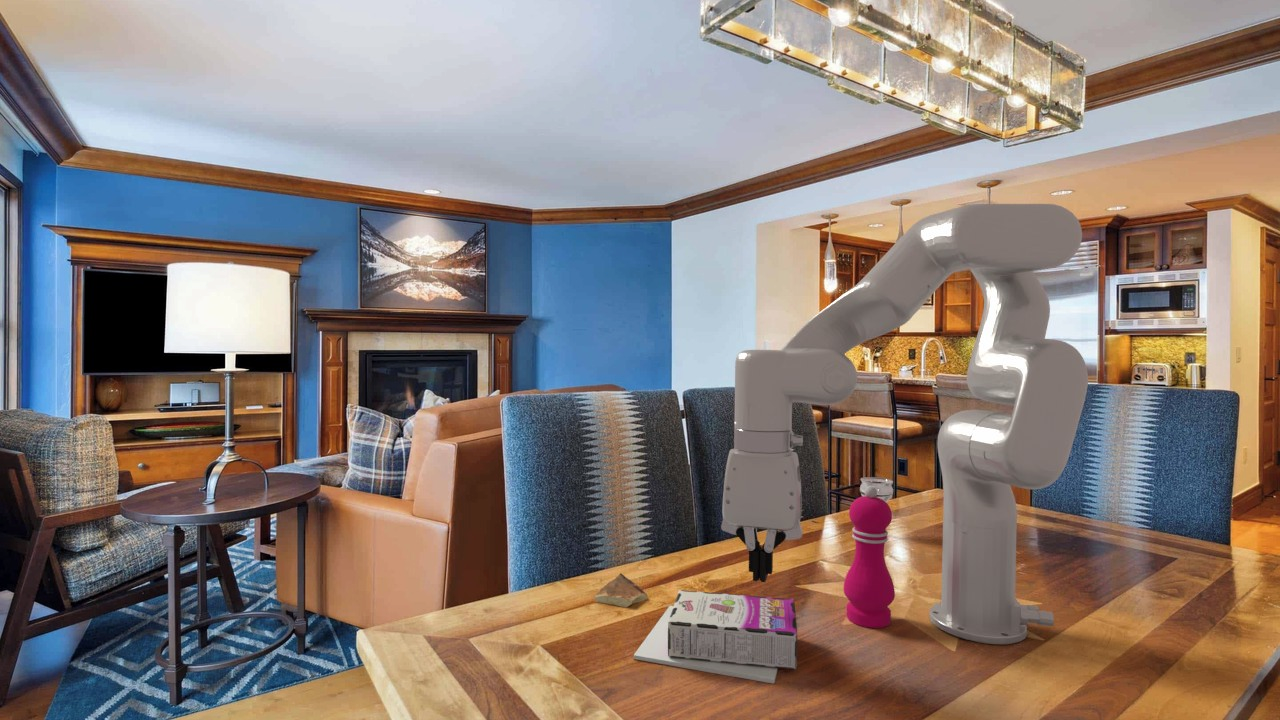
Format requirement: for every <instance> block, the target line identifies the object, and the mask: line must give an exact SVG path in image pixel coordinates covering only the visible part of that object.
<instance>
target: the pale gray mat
mask: <svg viewBox="0 0 1280 720" xmlns="http://www.w3.org/2000/svg"><path fill="white" fill-rule="evenodd" d="M673 607H674V605H669V606H668V607H667V609H666V610H665V611H664V613H663V614H662V616H661V617H660V618H659V619H658V621H657V622H656V624H655V625H654V627H653V628H652V629H651V631H650V632H649V633H648V635H647V636H646V638H645V639H644V640H643V641H642V643H641V645H640V646H639V647H638V649H637V650H636V651H635V652H634V654H633V660H638V661H643V662H649V663H654V664H660V665H665V666H671V667H677V668H682V669H683V668H684V669H687V670H688V669H689V670H693V671H695V670H696V671H700V672H706V673H710V674H716V675H717V674H718V675H723V676H728V677H733V678H735V677H736V678H738V679H739V678H740V679H746V680H752V681H757V682H763V683H768V684H769V683H770V684H775V682H776V678H777V674H778V669H779V668H777V667H767V666H758V665H749V664H737V663H729V662H717V661H707V660H696V659H687V658H677V657H668V621H669V618H670V615H671V612H672V610H673Z"/></svg>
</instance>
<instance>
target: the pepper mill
mask: <svg viewBox="0 0 1280 720" xmlns="http://www.w3.org/2000/svg"><path fill="white" fill-rule="evenodd" d="M864 492H865V495H866V496H859V497H857V498H855V500H853V502H852V503H851V504H850V506H849V511H848V517H849V519H850V522H851V523H852V525H854V527H852V528H851V530H852V535H851V536H852V538H853V539H854V542H855V543H854V544H855V553H854V558H853V561H852V563H851V565H850V568H849V570H848V571H847V573H846V574H845V578H844V581H843V594H844V595H845V597H846V598H847V600H848V601H849V602H848V603H847V604H846V617H847V619H848V620H849V621H850V622H851V623H852V624H855V625H858V626H861V627H864V628H871V629H873V628H874V629H881V628H886V627H888V626H889V625H891V623H892V622H891V620H892V618H891V617H892V610H891V609H890V608H889V606H890V605H891V604H892V603H893V601H894V600H895V595H896V594H895V593H896V592H895V585H894V581H893V579H892V576H891V574H890V572H889V569H888V567H887V564H886V561H885V543H886V542H888V540H889V537H888V538H887V536H888V534H889V532H888V530H886V528H888V526H890V525H891V523H892V519H893V513H892V509H891V506H890V505H889V503H888V502H885V501H884V500H882V499H880V498H877V497H876V495H877V490H876V489H875V488H874V487H872V486H869V487H867V488H866V489H865V491H864Z"/></svg>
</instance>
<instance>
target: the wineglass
mask: <svg viewBox="0 0 1280 720" xmlns="http://www.w3.org/2000/svg"><path fill="white" fill-rule="evenodd" d="M859 480H860V481H861V483H860V485H859V486H860V487H859V493H860V495H861V497H863V496H866V495H865V492H864V491H865V489H866V488H867V487H869V486H872V487H874V488H875V489H876V490H877V495H876V497H877V498H880V499H882V500H884V501H885V502H886V503H888V502H889V500H890V499H892V497H893V494H894V489H893V486H892V484H893V483H894V481H893V480H891V479H889V478H884V477H875V476H871V477H861V478H860V479H859Z"/></svg>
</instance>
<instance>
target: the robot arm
mask: <svg viewBox="0 0 1280 720" xmlns="http://www.w3.org/2000/svg"><path fill="white" fill-rule="evenodd" d="M1082 240H1083V231H1082V226H1081V223H1080V221H1079V219H1078V217H1076V215H1075V214H1074V213H1073V212H1072V211H1070V210H1069V209H1068V208H1066V207H1064V206H1062V205H1058V204H1055V203H974V204H973V203H972V204H966V205H962V206H958V207H955V208H952V209H947V210H945V211H944V210H943V211H942V212H937V213H933V214H930V215H928V216H925V217H923V218H922V219H919V220H918V221H916V222H915V223H913V224H912V226H910V228H908V229H907V231H905V232H904V233H903V235H901V237H900V238H899V239H898V240H897V241H896V242H895V243H894V245H893V246H892V247H891V248H890V249H889V250H888V251H887V252H886V253H885V254H884V255H883V256H882V257H881V259H879V261H878V262H876V264H875V265H874V266H873V267H872V268H871V269H870V270H869V272H867V273H866V275H865V276H864V277H863V278H861V280H859V282H858V283H857V284H855V285H854V286H853V287H851V288H850V289H848V290H847V291H845V292H844V293H843V294H841V296H839V297H838V298H836V300H834V301H832V302H831V303H830V304H829V305H827V306H826V307H825V308H823V309H822V310H820V311H819V312H818V313H817V314H816V315H814V316H813V317H812V318H810V319H809V320H808V321H807V322H806V323H805V324H804V325H803V326H802V327H801V328H800V329H799V330H798V331H797V332H796V333H795V334H794V335H793V336H792V337H791V338H790V340H789V341H788V342H787V343H786V344H785V345H784V346H783V347H782V348H781V349H780V350H779V349H778V350H777V349H747V350H746V349H744V350H741V351H740V352H739V353H738V354H737V355H736V357H735V361H734V362H735V363H734V364H735V366H734V368H735V369H734V428H733V429H734V431H733V432H734V436H733V448H731V449H730V450H729V452H728V456H727V461H726V465H725V473H724V481H723V492H722V493H723V494H722V495H723V496H722V507H721V508H722V511H721V513H722V521H721V525H720V529H721V530H722V531H723V532H725V533H729V534H731V535H734V536H737V538H738V539H739V540H740V541H741V542H742V543H743V544H744V545H745V546H746V549H747V550H748V572H749V573H752V581H753V582H758V581H760V582H761V583H766V581H767V578H768V575H772V574H773V568H774V567H773V566H774V565H773V564H774V563H773V562H774V559H773V558H774V550H775V549H777V548H778V546H780V544H781V543H783V542H784V541H793V540H799V539H801V538H802V537H803V528H802V523H801V519H802V482H801V467H800V461H799V456H798V453H797V452H795V451H792V449H794V447H797V446H800V447H801V446H803V442H804V441H803V438H804V437H803V435H801V434H799V435H797V434H795V432H793V428H792V423H793V420H792V418H793V414H792V413H793V403H801V404H810V405H815V406H816V405H817V406H833V405H837V404H840V403H842V402H843V401H845V400H847V399H848V398H849V397H851V395H852V394H853V393H854V391H855V389H856V388H857V383H858V373H857V368H856V366H855V364H854V362H852V360H851V359H850V358H849V357H848V356H847V355H846V353H848V352H849V351H850V350H852V349H854V348H856V347H857V346H860V345H861V344H863V343H866V342H868V341H869V340H872V339H875V338H878V337H882V336H883V335H886V334H888V333H891V332H892V331H895V330H896V329H898V328H900V327H901V326H904V325H905V324H907V323H908V322H909V321H910V320H911V319H912V318H913V316H914V315H915V314H916V313H917V312H918V311H919V310H920V309H921V308H922V306H923V305H924V304H925V303H926V301H928V299H930V297H931V296H932V295H933V294H934V293H935V292H936V291H937V290H938V289H939V288H940V287H941V285H942V284H943V283H944V282H945V281H946V280H947V279H948V278H949V277H950V276H951V275H952V274H954V273H956V272H963V271H970V273H972V275H973V277H974V278H975V279H976V281H977V283H978V285H979V288H980V290H981V294H982V297H983V311H982V316H981V320H980V324H979V326H978V327H979V328H978V332H977V335H976V339H975V341H974V346H973V349H972V353H971V356H970V359H969V364H968V367H967V373H966V383H967V387H968V390H969V392H970V393H972V395H973V396H974V397H976V398H977V399H979V400H982V401H985V402H987V403H992V404H999V405H1005V406H1013V410H1012V412H1011V414H1010V413H1009V414H1008V413H1005V412H998V411H991V410H984V409H983V410H982V409H967V410H962V411H958V412H955V413H953V414H952V415H950V416H949V417H947V418H946V419H945V420H944V422H943V423H942V424H941V426H940V429H939V431H938V434H937V444H936V445H937V454H938V459H939V465H940V471H941V476H942V477H941V478H942V488H943V489H942V490H943V506H942V507H943V511H942V515H943V516H942V518H943V519H942V555H941V557H942V559H941V560H942V561H941V563H942V564H941V598H940V599H941V602H938V603H935V604H934V605H932V606H931V607H930V608H929V620H930V621H931V623H933V624H934V625H935V626H936V627H937V628H938V629H940V630H941V631H944V632H946V633H947V634H950V635H952V636H955V637H957V638H961V639H964V640H966V641H967V640H968V641H971V642H975V643H981V644H991V645H1010V644H1016V643H1019V642H1022V641H1023V640H1025V639H1026V637H1027V633H1028V631H1027V629H1028V627H1027V625H1029V623H1030V624H1037V625H1040V626H1046V627H1047V626H1048V627H1054V623H1055V619H1054V618H1055V617H1054V613H1053V611H1048V610H1047V611H1046V610H1039V606H1038V605H1030V604H1022V603H1021V602H1019V601H1018V600H1017V598H1016V569H1017V567H1016V563H1017V526H1018V525H1017V524H1018V510H1017V502H1016V498H1015V495H1014V492H1013V489H1012V486H1013V487H1017V488H1020V489H1026V490H1040V489H1041V490H1042V489H1045V488H1047V487H1049V486H1052V485H1053V484H1054V483H1055V482H1056V481H1057V480H1058V479H1059V478H1060V476H1061V475H1062V474H1063V472H1064V469H1065V468H1066V465H1067V463H1068V460H1069V457H1070V454H1071V451H1072V447H1073V444H1074V440H1075V437H1076V433H1077V430H1078V425H1079V422H1080V418H1081V416H1082V412H1083V407H1084V404H1085V400H1086V396H1087V391H1088V387H1089V385H1088V384H1089V375H1088V369H1087V364H1086V361H1085V359H1084V357H1083V355H1082V354H1081V353H1080V351H1079V350H1078V349H1077V348H1076V347H1074V346H1073V345H1072V344H1070V343H1068V342H1067V341H1064V340H1059V339H1054V338H1046V334H1047V331H1048V330H1047V329H1048V324H1049V320H1050V316H1051V315H1050V314H1051V305H1050V301H1049V298H1048V297H1049V296H1048V294H1047V292H1046V291H1045V288H1044V287H1043V285H1042V283H1041V282H1040V280H1039V279H1038V277H1037V275H1036V274H1035V273H1034V271H1041V270H1043V271H1045V270H1048V269H1049V270H1050V269H1055V268H1057V267H1060V266H1062V265H1064V264H1065V263H1069V261H1070V260H1072V258H1074V256H1075V255H1076V254H1077V253H1078V250H1079V249H1080V247H1081V243H1082ZM757 529H758V530H759V529H760V530H766V532H765V533H766V534H765V540H764V543H763V545H761V543H760V541H759V537H758V530H757ZM1020 603H1021V604H1020Z"/></svg>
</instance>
